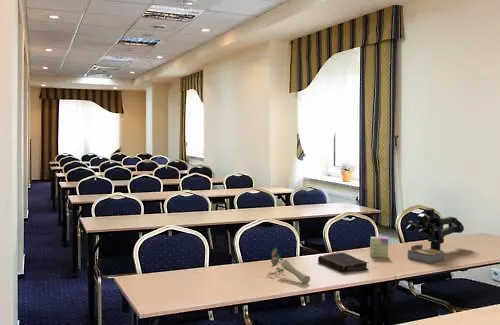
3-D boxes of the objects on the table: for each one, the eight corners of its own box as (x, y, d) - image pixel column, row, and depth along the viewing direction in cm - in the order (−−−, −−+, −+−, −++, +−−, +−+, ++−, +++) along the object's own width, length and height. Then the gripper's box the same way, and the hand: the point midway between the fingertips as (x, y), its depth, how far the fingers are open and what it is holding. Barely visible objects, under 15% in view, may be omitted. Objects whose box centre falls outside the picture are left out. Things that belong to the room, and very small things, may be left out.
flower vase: (298, 298, 263) (262, 268, 292) (317, 288, 268) (280, 259, 297) (295, 279, 258) (259, 250, 287) (315, 269, 264) (277, 242, 292)
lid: (421, 247, 326) (421, 243, 326) (444, 252, 313) (444, 248, 313) (407, 250, 318) (407, 246, 317) (430, 255, 305) (431, 251, 305)
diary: (342, 274, 283) (342, 265, 283) (317, 264, 306) (317, 255, 305) (370, 270, 291) (370, 261, 291) (343, 260, 314) (343, 252, 313)
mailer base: (421, 254, 326) (421, 248, 326) (443, 260, 314) (444, 252, 313) (407, 258, 318) (407, 251, 318) (430, 263, 305) (430, 256, 305)
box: (386, 255, 325) (387, 236, 324) (388, 257, 319) (388, 238, 319) (369, 254, 326) (370, 236, 325) (371, 257, 320) (371, 238, 320)
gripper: (414, 211, 336) (399, 215, 326) (440, 215, 321) (425, 220, 311) (414, 227, 337) (400, 232, 328) (440, 232, 322) (425, 238, 313)
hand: (412, 230), depth 320 cm, fingers open, 9 cm apart
